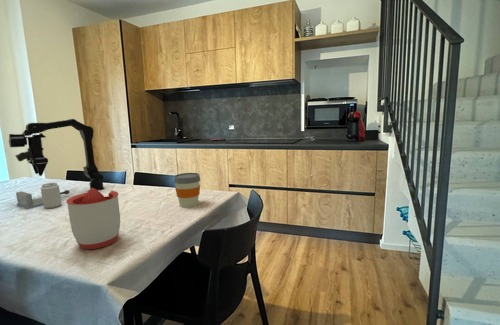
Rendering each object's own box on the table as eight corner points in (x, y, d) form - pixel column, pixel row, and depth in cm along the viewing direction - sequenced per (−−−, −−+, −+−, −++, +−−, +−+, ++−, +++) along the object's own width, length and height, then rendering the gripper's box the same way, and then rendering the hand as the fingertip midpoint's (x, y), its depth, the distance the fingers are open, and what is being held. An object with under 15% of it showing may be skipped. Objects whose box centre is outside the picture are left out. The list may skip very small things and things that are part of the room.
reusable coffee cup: (195, 209, 127) (193, 178, 124) (171, 208, 129) (169, 177, 127) (205, 201, 139) (203, 172, 136) (182, 200, 141) (180, 172, 139)
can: (65, 204, 140) (62, 181, 138) (53, 209, 132) (50, 185, 130) (52, 204, 141) (48, 182, 139) (39, 208, 133) (36, 185, 131)
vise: (64, 194, 159) (62, 182, 157) (75, 197, 152) (73, 185, 151) (16, 205, 140) (14, 192, 139) (27, 209, 133) (24, 195, 132)
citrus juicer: (132, 230, 105) (126, 180, 101) (111, 252, 87) (103, 193, 84) (91, 231, 104) (85, 182, 101) (62, 254, 87) (53, 195, 84)
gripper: (12, 146, 144) (16, 174, 146) (19, 148, 131) (22, 179, 134) (38, 145, 152) (41, 172, 154) (46, 146, 140) (49, 176, 142)
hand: (38, 174), depth 146 cm, fingers open, 9 cm apart
